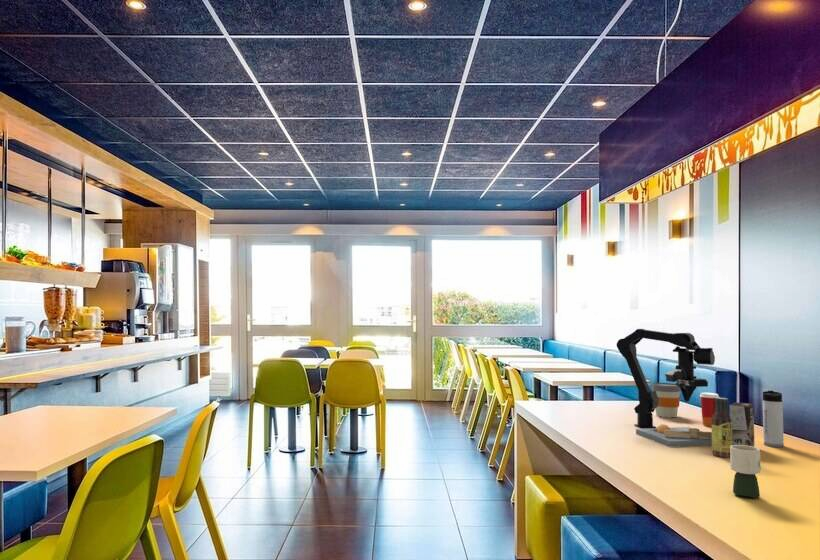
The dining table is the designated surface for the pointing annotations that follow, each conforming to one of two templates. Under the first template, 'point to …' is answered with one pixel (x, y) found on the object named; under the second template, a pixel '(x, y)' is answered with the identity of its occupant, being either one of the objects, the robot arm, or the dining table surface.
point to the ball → (662, 428)
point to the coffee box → (742, 424)
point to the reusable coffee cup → (667, 399)
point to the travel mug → (773, 419)
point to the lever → (688, 433)
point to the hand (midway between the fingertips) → (686, 401)
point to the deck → (673, 441)
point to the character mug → (745, 469)
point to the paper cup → (708, 407)
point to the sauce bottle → (721, 429)
